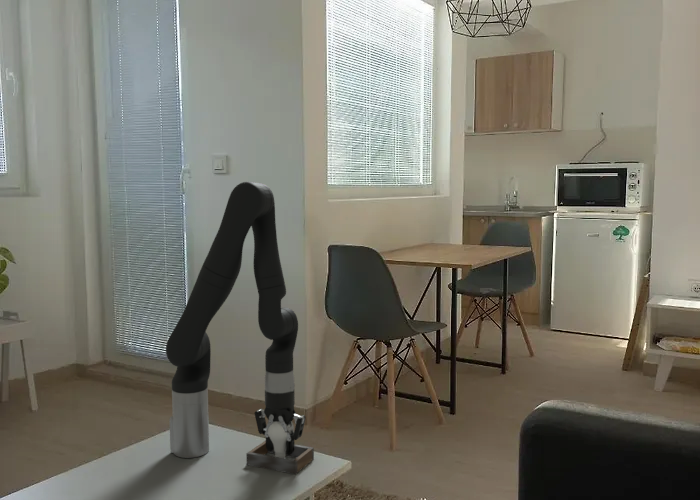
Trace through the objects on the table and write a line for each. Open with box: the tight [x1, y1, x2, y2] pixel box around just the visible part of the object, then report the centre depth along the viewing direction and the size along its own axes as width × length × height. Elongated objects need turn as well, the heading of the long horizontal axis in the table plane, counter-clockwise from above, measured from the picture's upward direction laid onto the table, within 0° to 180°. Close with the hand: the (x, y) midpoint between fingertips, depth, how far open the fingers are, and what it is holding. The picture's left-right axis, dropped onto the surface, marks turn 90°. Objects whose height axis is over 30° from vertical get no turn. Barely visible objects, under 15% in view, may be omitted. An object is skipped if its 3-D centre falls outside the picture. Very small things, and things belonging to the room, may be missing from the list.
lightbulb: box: [268, 422, 292, 459], centre depth 174 cm, size 6×6×11 cm
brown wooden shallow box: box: [245, 439, 315, 475], centre depth 174 cm, size 14×10×3 cm
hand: (280, 451), depth 174 cm, fingers closed on lightbulb, 5 cm apart
